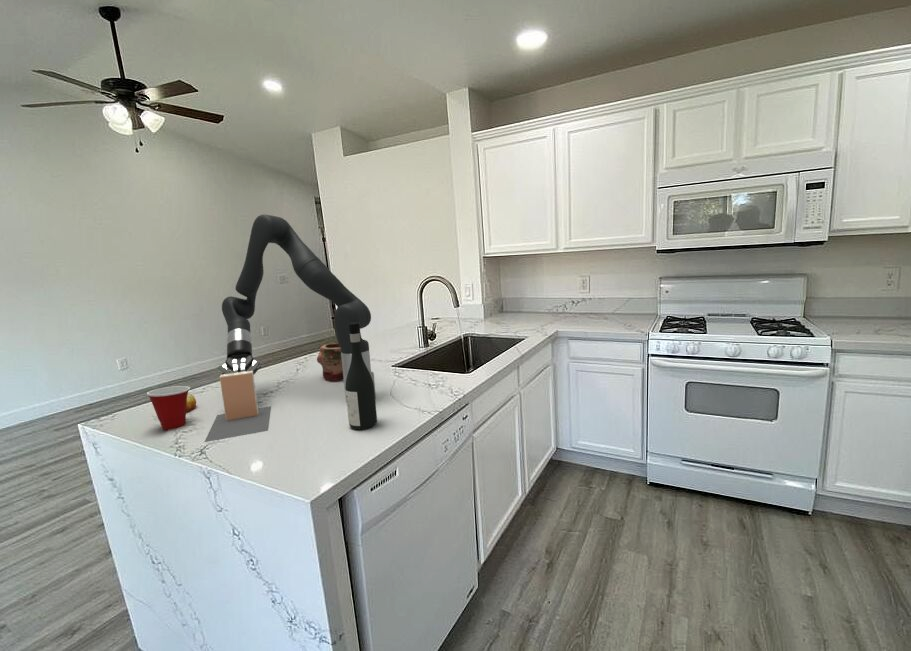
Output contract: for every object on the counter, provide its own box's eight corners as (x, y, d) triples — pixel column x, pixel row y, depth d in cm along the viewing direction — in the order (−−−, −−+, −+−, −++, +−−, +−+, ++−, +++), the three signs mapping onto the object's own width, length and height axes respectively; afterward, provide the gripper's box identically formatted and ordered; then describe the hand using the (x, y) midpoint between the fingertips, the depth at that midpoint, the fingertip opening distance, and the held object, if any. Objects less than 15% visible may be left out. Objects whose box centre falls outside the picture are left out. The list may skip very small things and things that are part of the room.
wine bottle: (353, 433, 117) (342, 326, 112) (346, 423, 124) (336, 323, 119) (381, 426, 121) (372, 322, 116) (373, 417, 128) (364, 319, 123)
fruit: (204, 408, 143) (193, 389, 140) (171, 427, 136) (159, 406, 133) (193, 401, 150) (182, 382, 147) (161, 418, 143) (150, 399, 140)
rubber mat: (217, 416, 136) (217, 414, 136) (271, 407, 141) (271, 406, 141) (204, 443, 115) (204, 441, 115) (268, 432, 121) (268, 430, 121)
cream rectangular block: (227, 418, 132) (220, 374, 130) (258, 412, 136) (252, 370, 133) (226, 421, 130) (219, 377, 127) (258, 415, 133) (252, 372, 131)
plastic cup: (203, 422, 131) (197, 385, 129) (168, 436, 122) (161, 396, 120) (181, 418, 136) (175, 382, 134) (145, 431, 126) (138, 393, 124)
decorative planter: (369, 375, 174) (366, 342, 171) (353, 384, 162) (349, 349, 160) (328, 373, 180) (325, 341, 178) (310, 381, 169) (306, 347, 167)
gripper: (214, 341, 138) (214, 387, 129) (259, 336, 143) (261, 381, 134) (219, 354, 144) (219, 399, 135) (262, 349, 149) (264, 392, 139)
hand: (240, 390), depth 134 cm, fingers closed
